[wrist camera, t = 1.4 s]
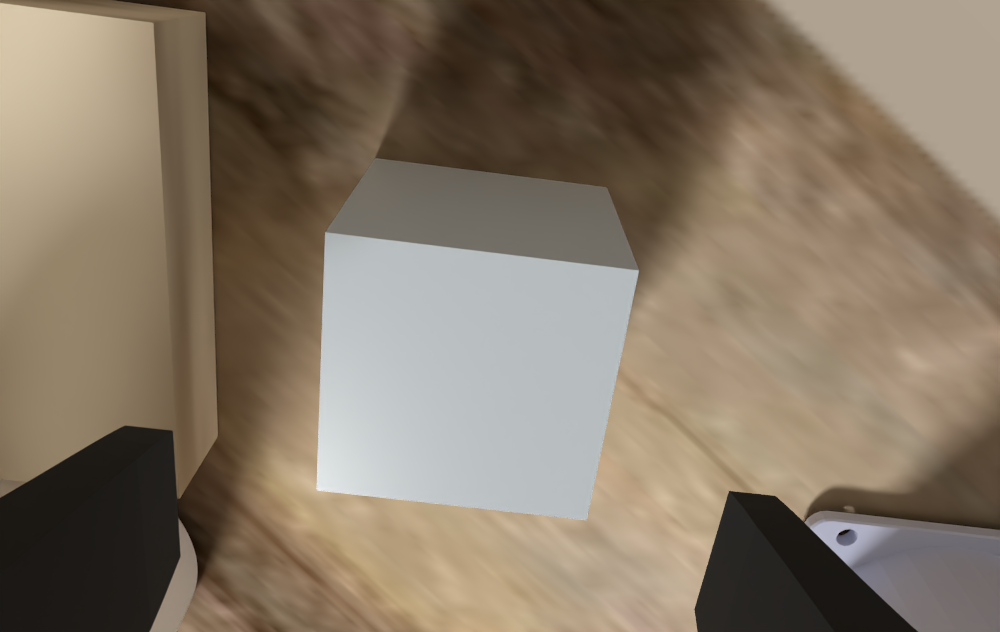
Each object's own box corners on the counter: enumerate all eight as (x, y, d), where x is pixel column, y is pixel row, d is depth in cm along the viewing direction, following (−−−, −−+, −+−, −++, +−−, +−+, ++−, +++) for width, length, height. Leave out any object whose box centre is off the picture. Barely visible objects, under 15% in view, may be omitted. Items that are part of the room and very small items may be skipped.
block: (606, 185, 17) (638, 270, 13) (569, 386, 19) (586, 519, 15) (375, 157, 17) (324, 232, 13) (363, 362, 19) (316, 490, 15)
